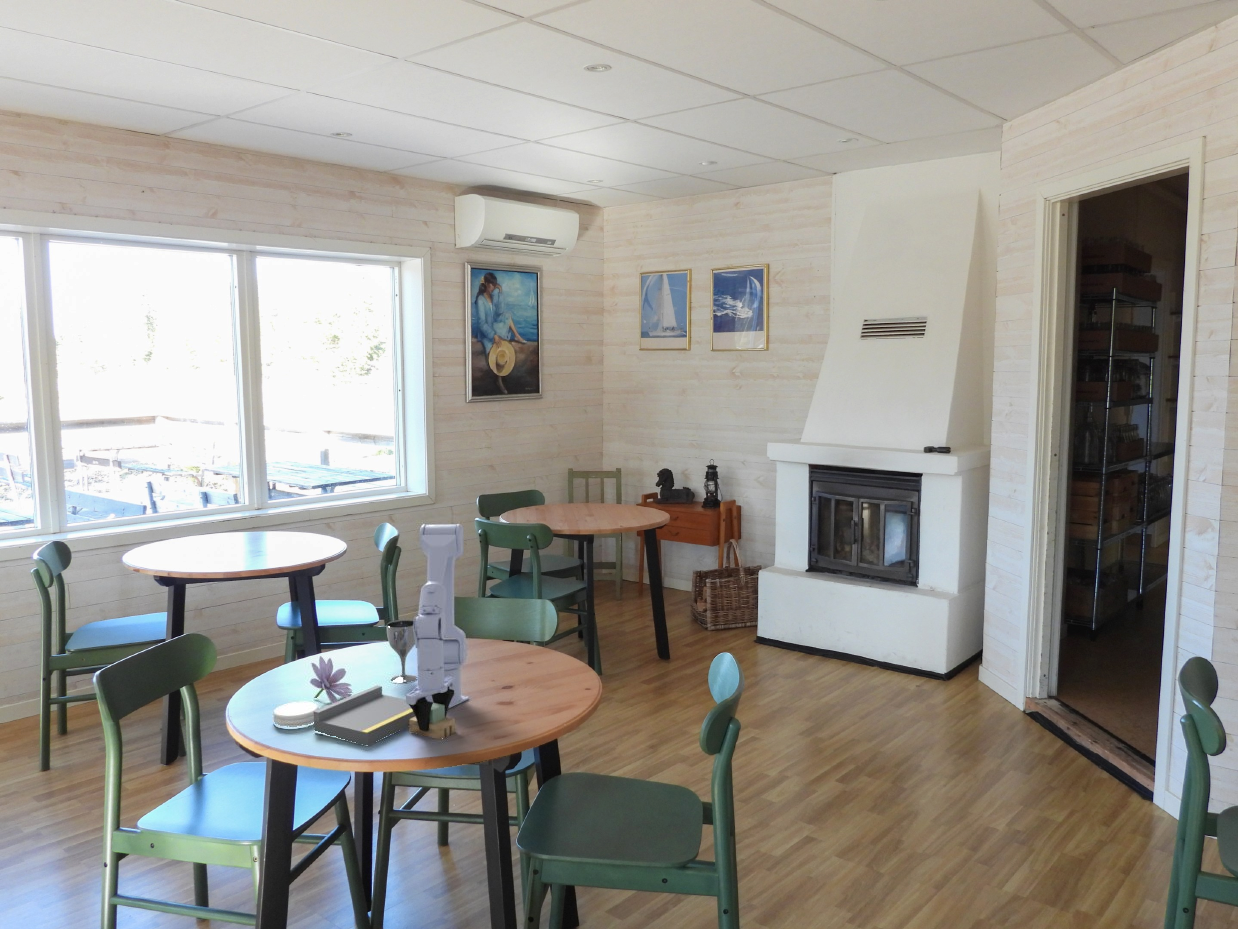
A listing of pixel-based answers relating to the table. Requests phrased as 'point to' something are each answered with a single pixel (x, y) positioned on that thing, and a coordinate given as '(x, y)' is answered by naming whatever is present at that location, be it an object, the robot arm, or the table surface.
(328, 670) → the water lily
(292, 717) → the white round disc
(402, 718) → the dock
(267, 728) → the table surface
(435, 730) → the pallet
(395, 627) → the silver goblet
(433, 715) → the green block
